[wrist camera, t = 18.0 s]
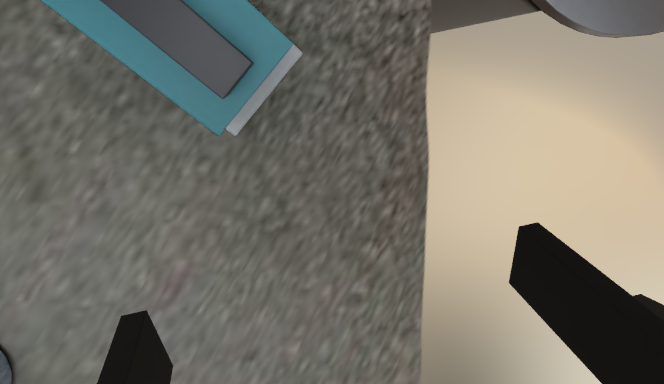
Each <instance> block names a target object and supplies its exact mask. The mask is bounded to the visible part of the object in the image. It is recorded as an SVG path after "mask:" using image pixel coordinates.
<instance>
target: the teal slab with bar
mask: <svg viewBox="0 0 664 384" xmlns="http://www.w3.org/2000/svg"><path fill="white" fill-rule="evenodd" d="M41 1H42V2H44V3H45V4H46V5H48V6H49V7H50V8H51V9H53V10H54V11H55V12H57V13H58V14H59V15H61V16H62V17H63V18H65V19H66V20H67V21H68V22H70V23H71V24H72V25H74V26H75V27H76V28H78V29H79V30H80V31H81V32H83V33H84V34H85V35H87V36H88V37H89V38H91V39H92V40H93V41H95V42H96V43H97V44H98V45H100V46H101V47H102V48H104V49H105V50H106V51H108V52H109V53H110V54H111V55H113V56H114V57H115V58H117V59H118V60H119V61H121V62H122V63H123V64H124V65H126V66H127V67H128V68H130V69H131V70H132V71H134V72H135V73H136V74H138V75H139V76H140V77H141V78H143V79H144V80H145V81H147V82H148V83H149V84H151V85H152V86H153V87H154V88H156V89H157V90H158V91H160V92H161V93H162V94H164V95H165V96H166V97H168V98H169V99H170V100H171V101H173V102H174V103H175V104H177V105H178V106H179V107H181V108H182V109H183V110H184V111H186V112H187V113H188V114H190V115H191V116H192V117H194V118H195V119H196V120H198V121H199V122H200V123H201V124H203V125H204V126H205V127H207V128H208V129H209V130H211V131H212V132H213V133H214V134H216V135H217V136H220V135H221V133H222V132H223V131H224V130H225V129H226V130H227V131H229V132H230V133H231V134H232V135H234V136H236V135H237V134H238V133H239V131H240V130H241V129H242V128H243V127H244V125H245V124H246V123H247V122H248V120H249V119H250V118H251V117H252V116H253V114H254V113H255V112H256V111H257V109H258V108H259V107H260V106H261V104H262V103H263V102H264V101H265V100H266V98H267V97H268V96H269V95H270V93H271V92H272V91H273V90H274V89H275V87H276V86H277V85H278V84H279V82H280V81H281V80H282V79H283V77H284V76H285V75H286V74H287V73H288V71H289V70H290V69H291V68H292V66H293V65H294V64H295V63H296V62H297V60H298V59H299V58H300V57H301V55H302V54H303V53H302V52H301V51H300V50H299V49H298V48H297V47H296V46H295V45H294V44H293V43H292V42H291V41H290V40H289V39H288V38H287V37H286V36H285V35H284V34H283V33H282V32H281V31H280V30H278V29H277V28H276V27H275V26H274V25H273V24H272V23H271V22H270V21H269V20H268V19H267V18H266V17H265V16H263V15H262V14H261V13H260V12H259V11H258V10H257V9H256V8H255V7H254V6H253V5H252V4H251V3H250V2H249V1H247V0H41Z"/></svg>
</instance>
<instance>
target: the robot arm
mask: <svg viewBox="0 0 664 384" xmlns="http://www.w3.org/2000/svg"><path fill="white" fill-rule="evenodd" d="M509 283H510V284H511V286H512V287H513V288H514V289H515V290H516V291H517V292H518V293H519V294H520V295H521V296H522V297H523V299H524V300H526V302H527V303H528V304H529V305H530V306H531V307H532V308H533V309H534V310H535V312H536V313H537V314H538V315H539V316H540V317H541V318H542V319H543V320H544V321H545V322H546V323H547V324H548V326H549V327H550V328H551V329H552V330H553V331H554V332H555V333H556V334H557V335H558V336H559V337H560V338H561V340H562V341H563V342H564V343H565V344H566V345H567V346H568V347H569V348H570V349H571V350H572V352H573V353H574V354H575V355H576V356H577V357H578V358H579V359H580V360H581V361H582V362H583V364H585V366H586V367H587V368H588V369H589V370H590V371H591V372H592V373H593V374H594V375H595V377H596V378H597V379H598V380H599V381H600V382H601V383H602V384H664V305H662V304H660V303H658V302H656V301H654V300H652V299H650V298H648V297H646V296H643V295H642V294H639V295H635V296H632V295H630V294H629V293H628V292H626V291H625V290H624V289H623V288H621V287H620V286H618V285H617V284H616V283H615V282H614V281H612V280H611V279H610V278H608V277H607V276H606V275H605V274H603V273H602V272H601V271H599V270H598V269H597V268H596V267H594V266H593V265H592V264H590V263H589V262H588V261H587V260H585V259H584V258H583V257H581V256H580V255H579V254H578V253H576V252H575V251H574V250H572V249H571V248H570V247H569V246H567V245H566V244H565V243H563V242H562V241H561V240H560V239H558V238H557V237H556V236H554V235H553V234H552V233H550V232H549V231H548V230H547V229H545V228H544V227H543V226H542V225H540V224H539V223H533V224H529V225H525V226H520V227H519V230H518V235H517V240H516V247H515V252H514V257H513V263H512V269H511V274H510V280H509ZM172 369H173V365H172V363H171V360H170V358H169V356H168V354H167V352H166V350H165V348H164V346H163V344H162V342H161V340H160V337H159V335H158V333H157V331H156V329H155V327H154V325H153V323H152V321H151V319H150V316H149V314H148V312H147V310H146V311H141V312H137V313H132V314H128V315H124V316H121V318H120V321H119V324H118V326H117V329H116V332H115V335H114V338H113V340H112V343H111V346H110V349H109V352H108V354H107V357H106V360H105V363H104V366H103V368H102V371H101V374H100V377H99V380H98V382H97V384H170V381H171V375H172Z"/></svg>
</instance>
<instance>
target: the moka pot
mask: <svg viewBox="0 0 664 384" xmlns="http://www.w3.org/2000/svg"><path fill="white" fill-rule="evenodd" d="M0 384H12V371H11V369H10V366H9V363H8V360H7V358H6V357H5V355H4V354H3V353H2V352H1V351H0Z"/></svg>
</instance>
